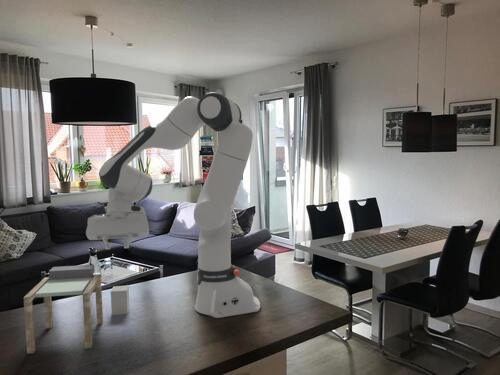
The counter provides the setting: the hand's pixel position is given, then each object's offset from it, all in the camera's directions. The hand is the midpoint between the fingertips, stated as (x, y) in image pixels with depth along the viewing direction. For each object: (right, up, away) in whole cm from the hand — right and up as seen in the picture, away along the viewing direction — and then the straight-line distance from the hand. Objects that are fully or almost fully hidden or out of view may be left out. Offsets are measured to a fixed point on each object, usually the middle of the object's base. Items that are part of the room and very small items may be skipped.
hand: (116, 247), depth 131 cm
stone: (0, -22, +3) cm, 22 cm away
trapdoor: (-10, -9, -14) cm, 20 cm away
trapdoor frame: (-9, -24, -15) cm, 29 cm away
